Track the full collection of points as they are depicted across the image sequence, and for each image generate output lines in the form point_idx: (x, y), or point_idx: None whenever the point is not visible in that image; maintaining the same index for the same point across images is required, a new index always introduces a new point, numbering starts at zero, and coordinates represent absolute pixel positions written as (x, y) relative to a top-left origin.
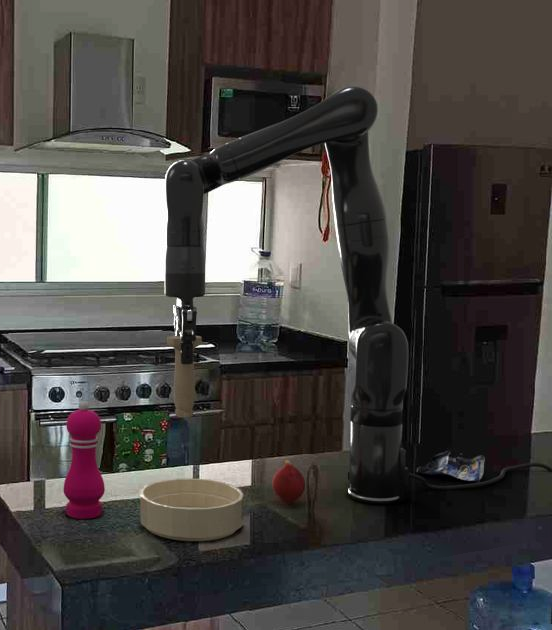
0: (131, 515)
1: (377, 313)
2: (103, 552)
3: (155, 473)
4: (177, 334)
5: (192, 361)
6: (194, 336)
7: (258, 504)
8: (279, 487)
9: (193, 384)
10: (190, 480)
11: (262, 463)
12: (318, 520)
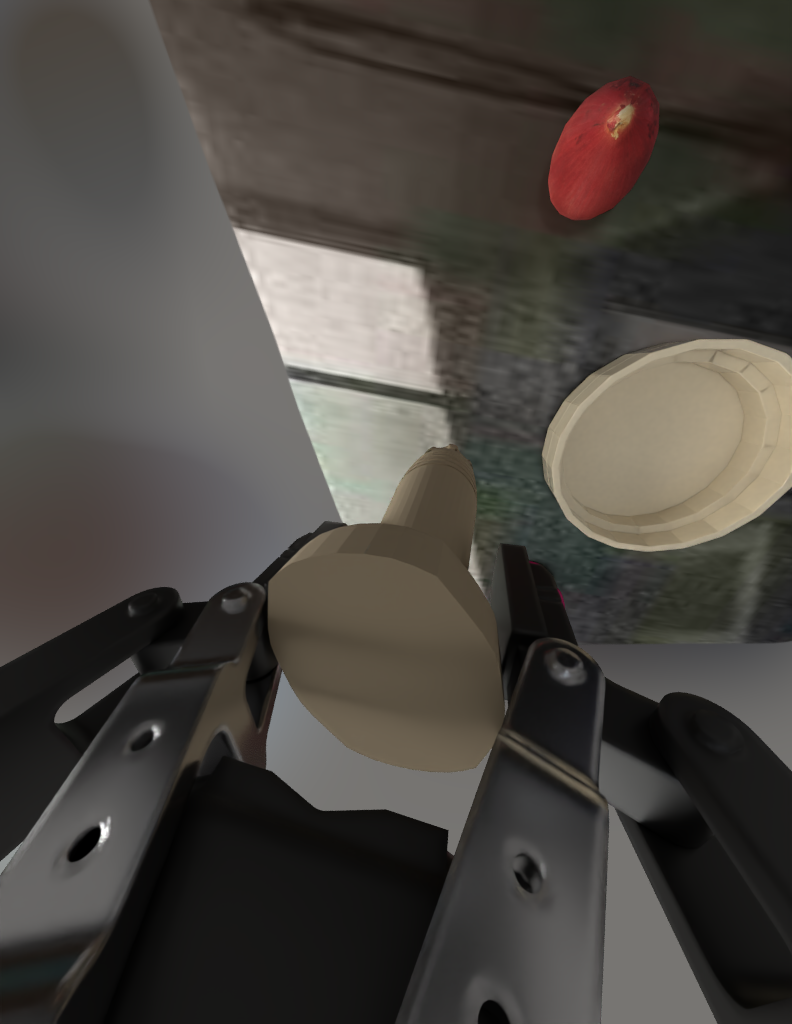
0: (552, 525)
1: None
2: (706, 586)
3: (337, 453)
4: (274, 693)
5: (525, 552)
6: (789, 786)
7: (559, 276)
8: (621, 198)
9: (461, 477)
10: (564, 443)
11: (254, 200)
12: (746, 108)
